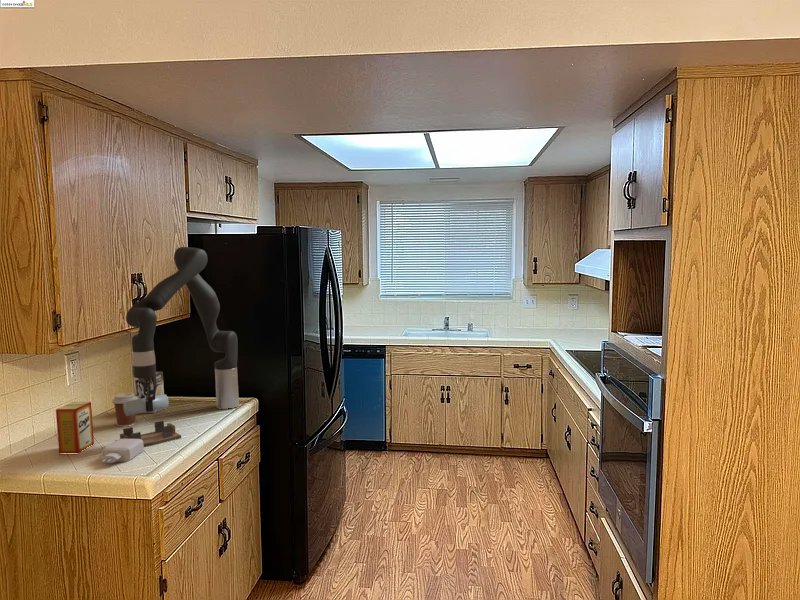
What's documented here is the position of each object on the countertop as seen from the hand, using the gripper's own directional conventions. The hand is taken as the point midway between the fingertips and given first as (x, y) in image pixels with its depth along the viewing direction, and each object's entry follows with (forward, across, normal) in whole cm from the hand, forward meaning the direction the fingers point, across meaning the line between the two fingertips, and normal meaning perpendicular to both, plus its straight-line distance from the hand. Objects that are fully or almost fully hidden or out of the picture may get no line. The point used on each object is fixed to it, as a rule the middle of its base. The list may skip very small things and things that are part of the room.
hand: (146, 409), depth 206 cm
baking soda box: (+12, +9, +21) cm, 26 cm away
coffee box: (+11, +40, -16) cm, 45 cm away
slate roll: (+1, 0, 0) cm, 1 cm away
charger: (+12, -12, +14) cm, 22 cm away
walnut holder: (+11, 0, 0) cm, 11 cm away
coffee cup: (+11, +27, -1) cm, 30 cm away
